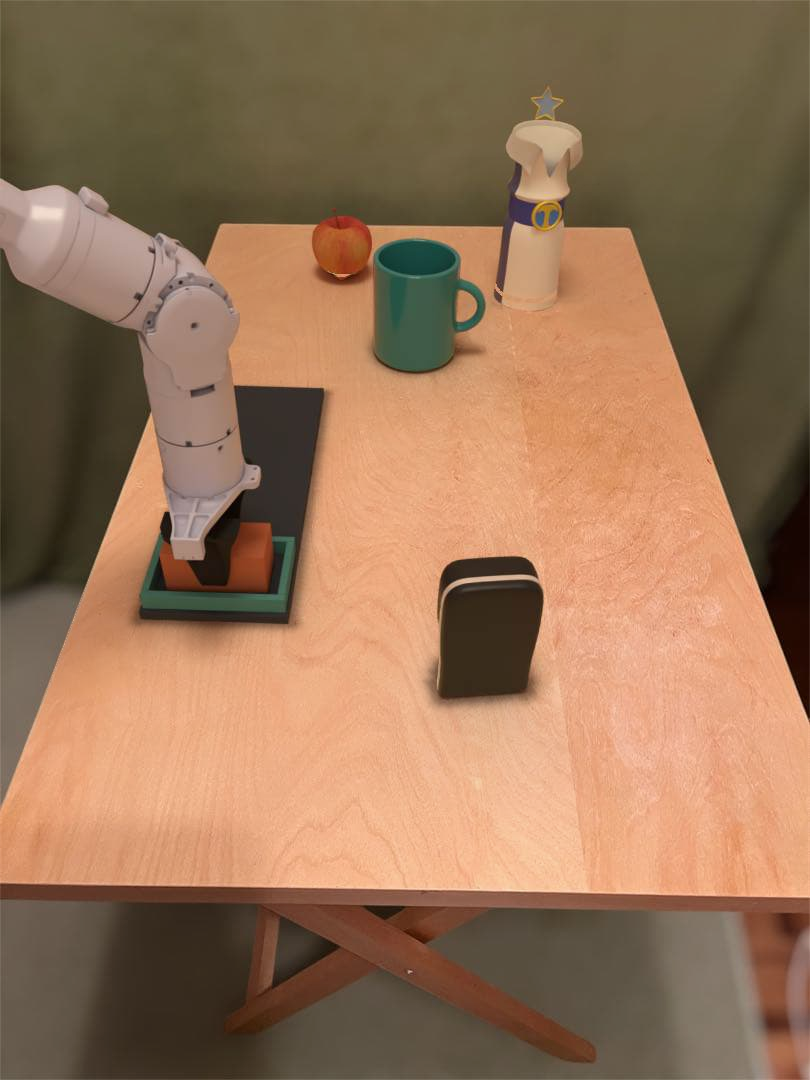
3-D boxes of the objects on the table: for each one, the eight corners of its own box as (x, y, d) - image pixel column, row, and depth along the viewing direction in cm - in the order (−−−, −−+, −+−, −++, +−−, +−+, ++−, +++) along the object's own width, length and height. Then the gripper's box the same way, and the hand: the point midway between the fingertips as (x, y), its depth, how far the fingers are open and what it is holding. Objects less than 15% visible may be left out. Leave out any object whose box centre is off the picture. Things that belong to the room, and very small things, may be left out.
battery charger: (520, 653, 70) (538, 544, 62) (530, 693, 67) (550, 584, 59) (429, 659, 69) (436, 550, 61) (436, 700, 66) (444, 591, 59)
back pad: (288, 623, 71) (286, 603, 70) (140, 619, 71) (135, 599, 70) (324, 394, 95) (323, 375, 93) (212, 390, 95) (209, 371, 93)
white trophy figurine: (572, 309, 109) (609, 85, 92) (504, 315, 108) (528, 89, 91) (549, 277, 115) (579, 61, 98) (484, 283, 114) (503, 65, 97)
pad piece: (268, 594, 72) (263, 557, 69) (167, 591, 72) (158, 554, 69) (274, 559, 75) (270, 522, 72) (177, 556, 75) (169, 519, 72)
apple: (337, 294, 111) (335, 231, 105) (301, 272, 115) (298, 210, 109) (384, 276, 114) (384, 214, 109) (347, 256, 118) (346, 195, 113)
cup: (480, 378, 98) (489, 281, 90) (369, 372, 98) (368, 274, 91) (481, 335, 104) (490, 241, 97) (377, 329, 105) (377, 235, 97)
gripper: (237, 491, 58) (256, 632, 67) (267, 367, 69) (280, 504, 78) (126, 487, 58) (161, 629, 67) (174, 365, 69) (198, 502, 78)
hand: (219, 562), depth 73 cm, fingers closed on pad piece, 4 cm apart
